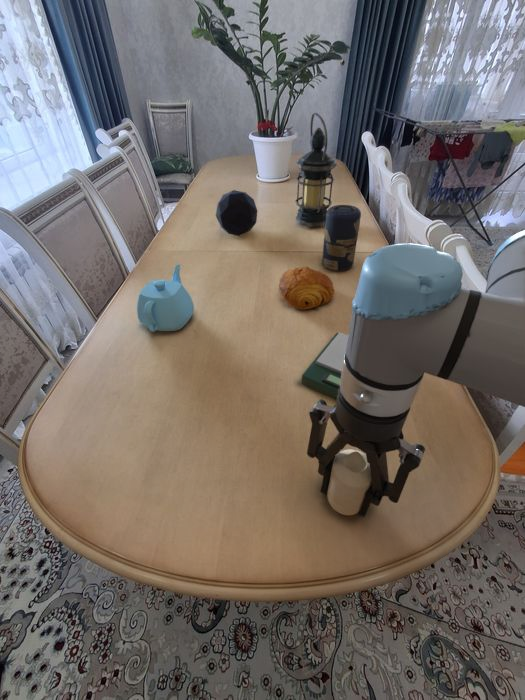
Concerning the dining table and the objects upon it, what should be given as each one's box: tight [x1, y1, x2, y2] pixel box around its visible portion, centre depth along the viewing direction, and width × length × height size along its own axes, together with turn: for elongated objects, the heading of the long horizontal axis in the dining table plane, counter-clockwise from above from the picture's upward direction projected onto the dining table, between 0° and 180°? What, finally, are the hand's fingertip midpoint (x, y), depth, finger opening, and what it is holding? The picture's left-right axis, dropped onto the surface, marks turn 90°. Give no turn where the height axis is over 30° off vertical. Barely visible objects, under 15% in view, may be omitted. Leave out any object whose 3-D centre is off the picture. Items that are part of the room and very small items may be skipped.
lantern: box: [294, 112, 337, 228], centre depth 120 cm, size 14×13×35 cm
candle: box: [326, 449, 372, 516], centre depth 49 cm, size 6×6×10 cm
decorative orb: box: [215, 189, 258, 237], centre depth 122 cm, size 14×15×15 cm
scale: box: [301, 332, 348, 400], centre depth 71 cm, size 14×16×3 cm
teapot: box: [136, 264, 195, 333], centre depth 85 cm, size 13×11×18 cm
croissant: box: [278, 266, 335, 310], centre depth 92 cm, size 14×16×8 cm
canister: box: [321, 204, 362, 272], centre depth 101 cm, size 10×10×18 cm
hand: (345, 496), depth 52 cm, fingers closed on candle, 5 cm apart
